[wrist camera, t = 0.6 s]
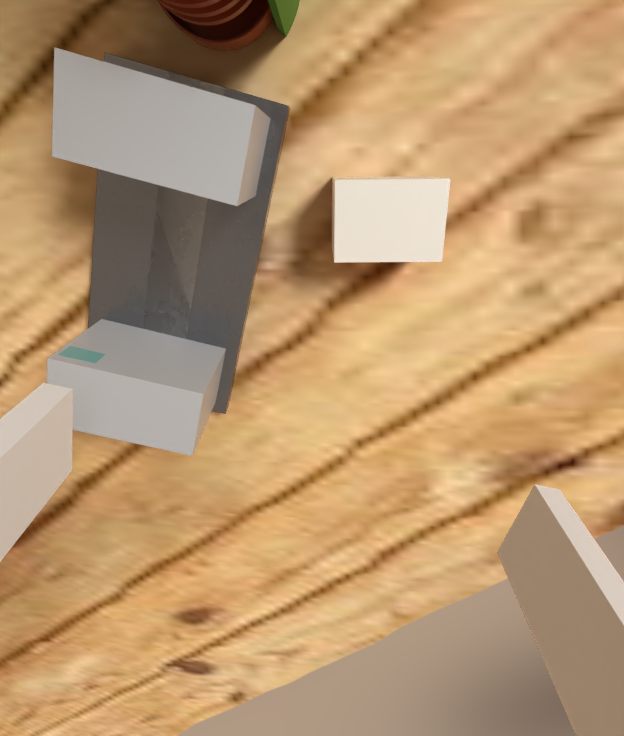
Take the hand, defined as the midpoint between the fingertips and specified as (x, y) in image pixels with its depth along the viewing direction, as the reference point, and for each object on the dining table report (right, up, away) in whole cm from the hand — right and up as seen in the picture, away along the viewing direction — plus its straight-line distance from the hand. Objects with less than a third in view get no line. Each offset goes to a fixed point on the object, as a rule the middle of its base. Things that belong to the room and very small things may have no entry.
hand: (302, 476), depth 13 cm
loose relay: (+5, +15, +21) cm, 27 cm away
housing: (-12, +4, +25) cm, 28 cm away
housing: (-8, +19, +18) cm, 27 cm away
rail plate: (-10, +12, +23) cm, 28 cm away
